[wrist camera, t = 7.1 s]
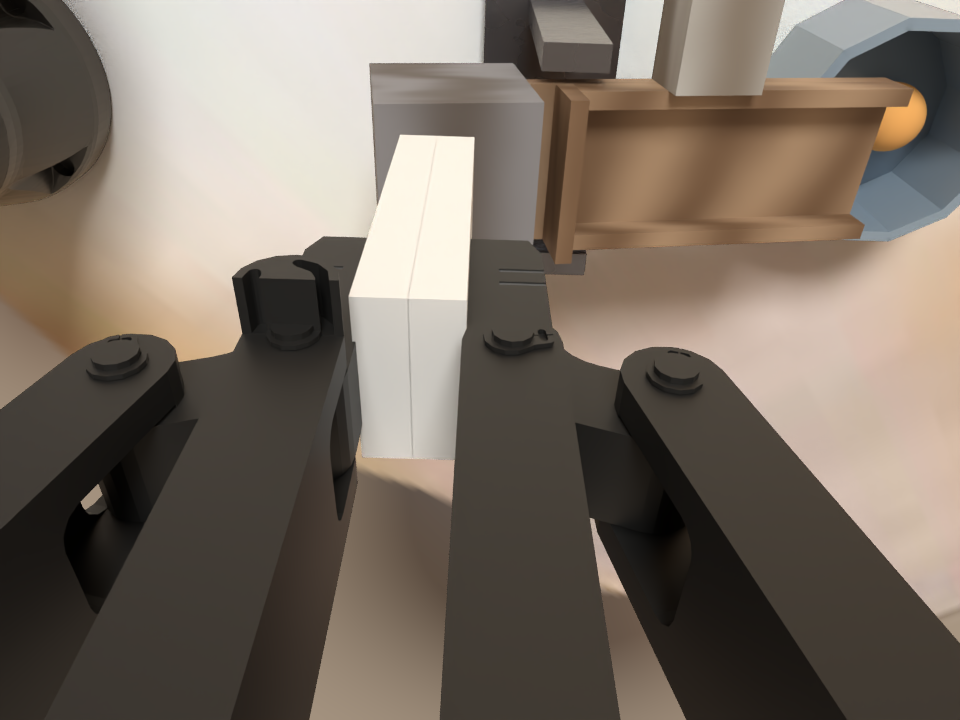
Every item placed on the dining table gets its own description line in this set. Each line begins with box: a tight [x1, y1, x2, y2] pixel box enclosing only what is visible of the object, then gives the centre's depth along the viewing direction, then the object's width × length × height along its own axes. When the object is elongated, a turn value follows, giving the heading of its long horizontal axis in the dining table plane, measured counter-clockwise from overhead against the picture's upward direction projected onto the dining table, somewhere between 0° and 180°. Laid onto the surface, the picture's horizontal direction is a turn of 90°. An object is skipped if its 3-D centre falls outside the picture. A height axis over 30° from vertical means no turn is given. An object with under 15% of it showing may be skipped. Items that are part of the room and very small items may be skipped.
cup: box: [766, 0, 960, 241], centre depth 42 cm, size 12×12×7 cm
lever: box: [369, 0, 914, 264], centre depth 34 cm, size 25×14×7 cm, turn 88°
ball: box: [872, 81, 927, 151], centre depth 43 cm, size 4×4×4 cm
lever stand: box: [484, 0, 626, 275], centre depth 40 cm, size 8×13×14 cm, turn 178°
